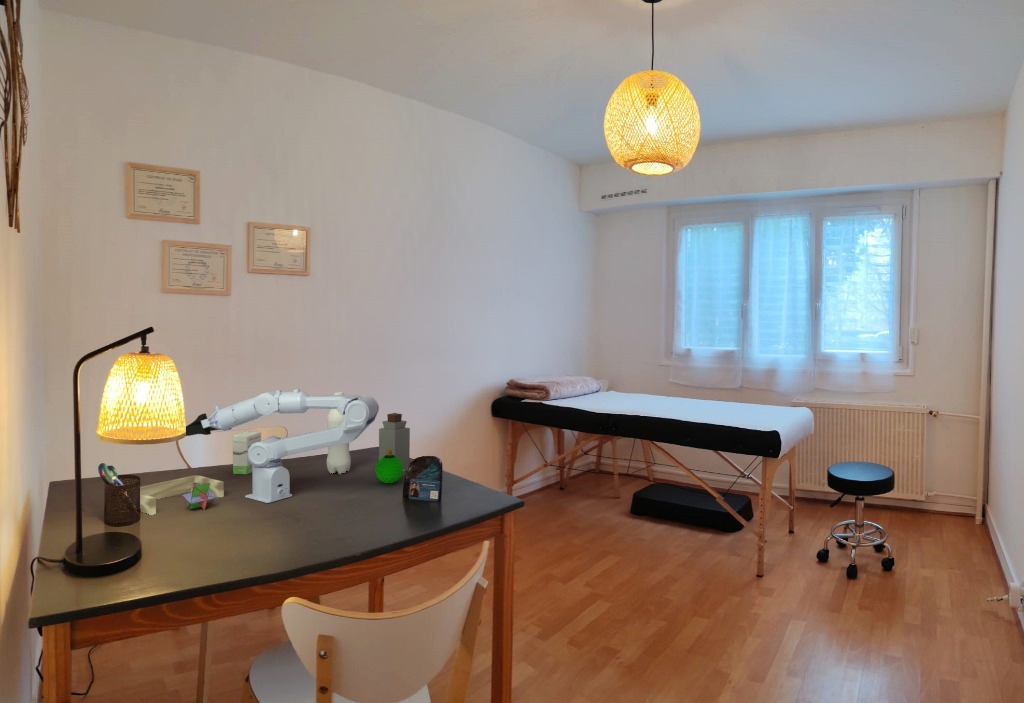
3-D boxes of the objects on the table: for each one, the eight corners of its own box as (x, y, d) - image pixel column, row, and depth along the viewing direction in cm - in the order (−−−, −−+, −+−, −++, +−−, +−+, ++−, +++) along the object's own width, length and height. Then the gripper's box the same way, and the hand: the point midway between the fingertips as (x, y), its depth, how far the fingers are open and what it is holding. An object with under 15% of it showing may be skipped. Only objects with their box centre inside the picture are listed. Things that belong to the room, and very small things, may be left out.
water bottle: (326, 470, 198) (326, 391, 196) (349, 469, 200) (350, 390, 198) (326, 476, 191) (326, 394, 189) (351, 474, 193) (351, 393, 191)
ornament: (390, 488, 179) (390, 453, 178) (369, 484, 183) (369, 450, 182) (409, 482, 186) (409, 448, 185) (388, 478, 190) (388, 445, 189)
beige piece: (223, 496, 168) (223, 481, 168) (151, 515, 152) (150, 499, 151) (196, 488, 175) (195, 474, 174) (123, 506, 158) (123, 490, 158)
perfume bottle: (409, 469, 200) (409, 413, 199) (394, 474, 195) (395, 416, 194) (393, 466, 204) (394, 411, 203) (378, 471, 198) (379, 414, 197)
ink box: (247, 474, 191) (247, 436, 190) (232, 474, 191) (231, 435, 190) (262, 468, 199) (261, 431, 198) (247, 467, 200) (247, 430, 199)
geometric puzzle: (224, 500, 157) (213, 472, 160) (197, 507, 152) (186, 478, 154) (211, 513, 161) (200, 485, 163) (185, 520, 155) (174, 491, 157)
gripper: (247, 397, 175) (204, 413, 176) (219, 401, 161) (171, 419, 162) (256, 421, 175) (212, 437, 176) (227, 428, 160) (180, 445, 162)
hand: (193, 430), depth 169 cm, fingers open, 7 cm apart
